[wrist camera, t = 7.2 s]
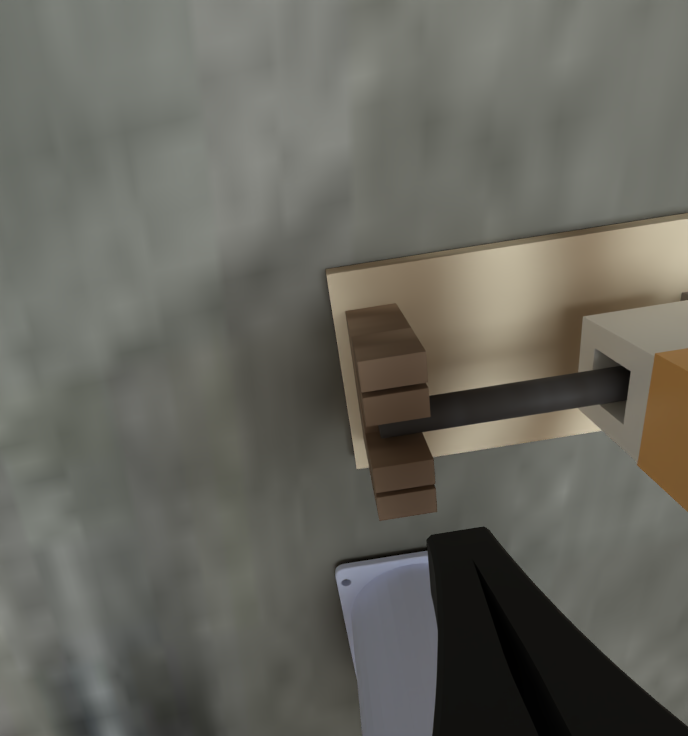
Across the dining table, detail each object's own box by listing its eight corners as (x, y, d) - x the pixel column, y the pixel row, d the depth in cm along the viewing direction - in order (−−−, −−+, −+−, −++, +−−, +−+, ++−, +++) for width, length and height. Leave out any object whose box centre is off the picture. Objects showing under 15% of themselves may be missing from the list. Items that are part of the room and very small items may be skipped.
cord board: (354, 456, 22) (371, 561, 16) (325, 269, 18) (332, 318, 12) (727, 397, 22) (876, 481, 16) (774, 199, 18) (992, 215, 12)
